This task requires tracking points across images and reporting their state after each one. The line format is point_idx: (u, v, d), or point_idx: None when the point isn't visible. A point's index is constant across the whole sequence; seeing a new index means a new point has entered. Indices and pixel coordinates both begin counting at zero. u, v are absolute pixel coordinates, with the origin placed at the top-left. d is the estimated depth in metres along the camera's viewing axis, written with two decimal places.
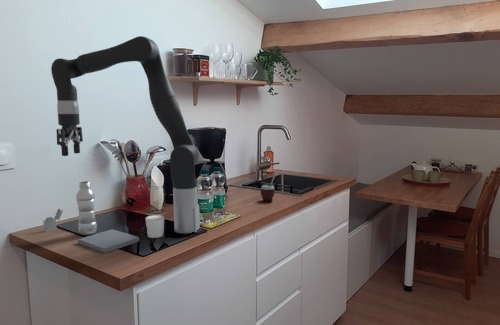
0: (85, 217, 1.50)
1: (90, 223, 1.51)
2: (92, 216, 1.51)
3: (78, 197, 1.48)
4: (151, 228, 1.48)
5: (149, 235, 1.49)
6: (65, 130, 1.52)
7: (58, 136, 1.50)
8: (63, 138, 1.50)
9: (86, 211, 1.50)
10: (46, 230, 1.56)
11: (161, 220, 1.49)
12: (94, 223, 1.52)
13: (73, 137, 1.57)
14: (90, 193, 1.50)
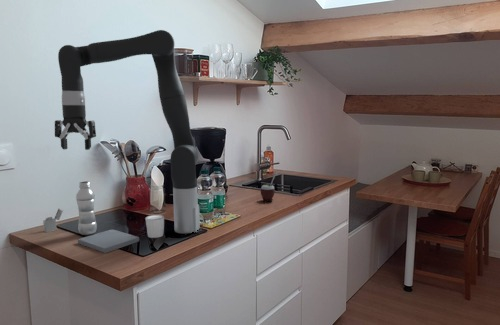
0: (85, 217, 1.50)
1: (90, 223, 1.51)
2: (92, 216, 1.51)
3: (78, 197, 1.48)
4: (151, 228, 1.48)
5: (149, 235, 1.49)
6: None
7: (93, 128, 1.44)
8: None
9: (86, 211, 1.50)
10: (46, 230, 1.56)
11: (161, 220, 1.49)
12: (94, 223, 1.52)
13: None
14: (90, 193, 1.50)
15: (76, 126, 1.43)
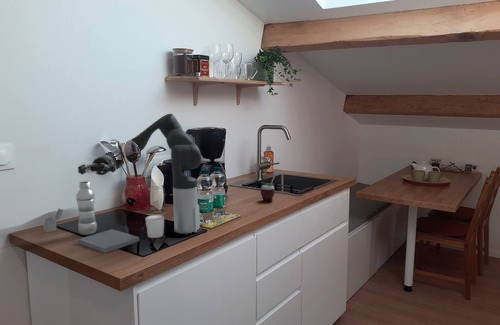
0: (85, 217, 1.50)
1: (90, 223, 1.51)
2: (92, 216, 1.51)
3: (78, 197, 1.48)
4: (151, 228, 1.48)
5: (149, 235, 1.49)
6: None
7: (115, 166, 1.68)
8: None
9: (86, 211, 1.50)
10: (46, 230, 1.56)
11: (161, 220, 1.49)
12: (94, 223, 1.52)
13: (96, 171, 1.67)
14: (90, 193, 1.50)
15: (102, 163, 1.68)
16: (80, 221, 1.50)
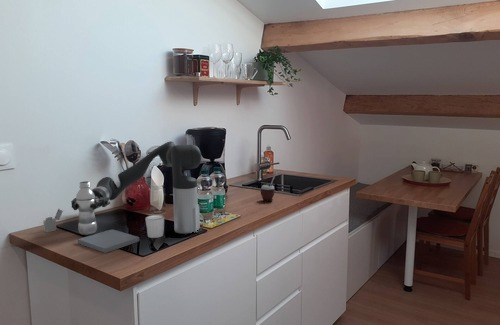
0: (85, 217, 1.50)
1: (90, 223, 1.51)
2: (92, 216, 1.51)
3: (78, 197, 1.48)
4: (151, 228, 1.48)
5: (149, 235, 1.49)
6: None
7: (107, 200, 1.57)
8: None
9: (86, 211, 1.49)
10: (46, 230, 1.56)
11: (161, 220, 1.49)
12: (94, 223, 1.52)
13: None
14: (90, 193, 1.50)
15: (95, 196, 1.58)
16: (80, 221, 1.50)
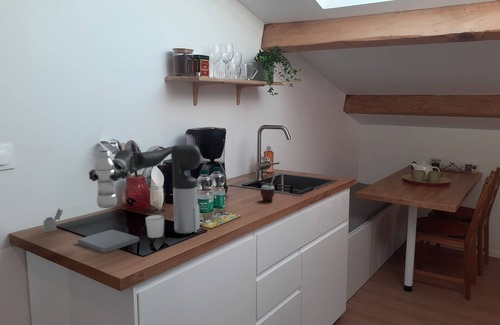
0: (105, 189, 1.39)
1: (110, 195, 1.40)
2: (112, 188, 1.40)
3: (97, 167, 1.37)
4: (151, 228, 1.48)
5: (149, 235, 1.49)
6: None
7: (127, 172, 1.46)
8: None
9: (106, 182, 1.38)
10: (46, 230, 1.56)
11: (161, 220, 1.49)
12: (114, 195, 1.41)
13: None
14: (110, 162, 1.39)
15: None
16: (99, 193, 1.39)
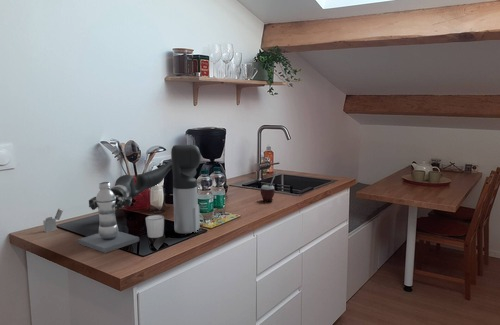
0: (106, 220, 1.40)
1: (112, 226, 1.41)
2: (113, 219, 1.42)
3: (98, 199, 1.39)
4: (151, 228, 1.48)
5: (149, 235, 1.49)
6: None
7: (130, 199, 1.48)
8: None
9: (107, 213, 1.40)
10: (46, 230, 1.56)
11: (161, 220, 1.49)
12: (115, 226, 1.43)
13: None
14: (111, 194, 1.41)
15: (115, 195, 1.48)
16: (101, 224, 1.41)
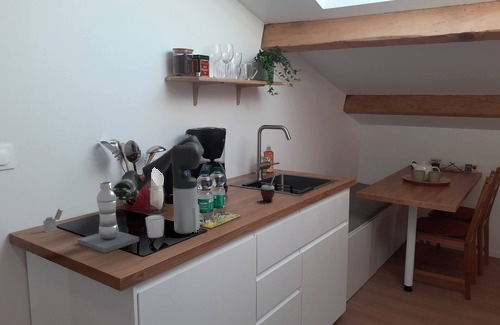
0: (106, 220, 1.41)
1: (112, 226, 1.42)
2: (114, 219, 1.42)
3: (99, 199, 1.39)
4: (151, 228, 1.48)
5: (149, 235, 1.49)
6: None
7: (137, 192, 1.61)
8: None
9: (107, 213, 1.40)
10: (46, 230, 1.56)
11: (161, 220, 1.49)
12: (116, 226, 1.43)
13: (117, 196, 1.60)
14: (112, 194, 1.41)
15: (124, 188, 1.61)
16: (101, 224, 1.41)
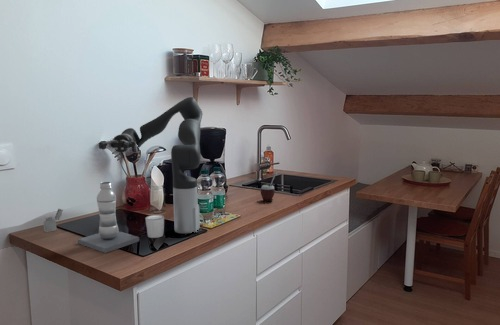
0: (106, 220, 1.41)
1: (112, 226, 1.42)
2: (114, 219, 1.42)
3: (99, 199, 1.39)
4: (151, 228, 1.48)
5: (149, 235, 1.49)
6: None
7: (135, 143, 1.68)
8: None
9: (107, 213, 1.40)
10: (46, 230, 1.56)
11: (161, 220, 1.49)
12: (116, 226, 1.43)
13: (116, 147, 1.66)
14: (112, 194, 1.41)
15: (122, 139, 1.68)
16: (101, 224, 1.41)
